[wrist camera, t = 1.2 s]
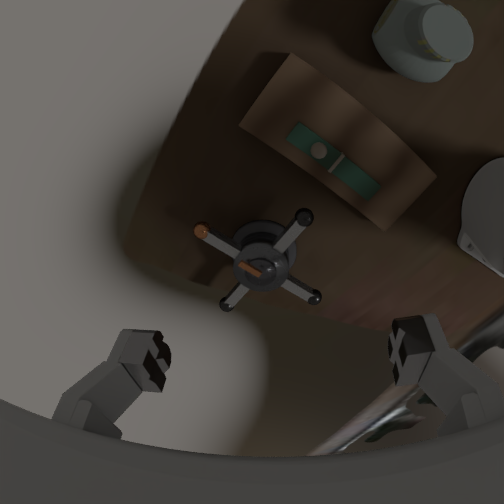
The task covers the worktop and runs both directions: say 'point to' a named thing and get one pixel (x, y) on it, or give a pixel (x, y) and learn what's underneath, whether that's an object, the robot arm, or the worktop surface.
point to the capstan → (261, 260)
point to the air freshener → (422, 38)
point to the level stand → (337, 142)
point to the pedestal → (265, 227)
